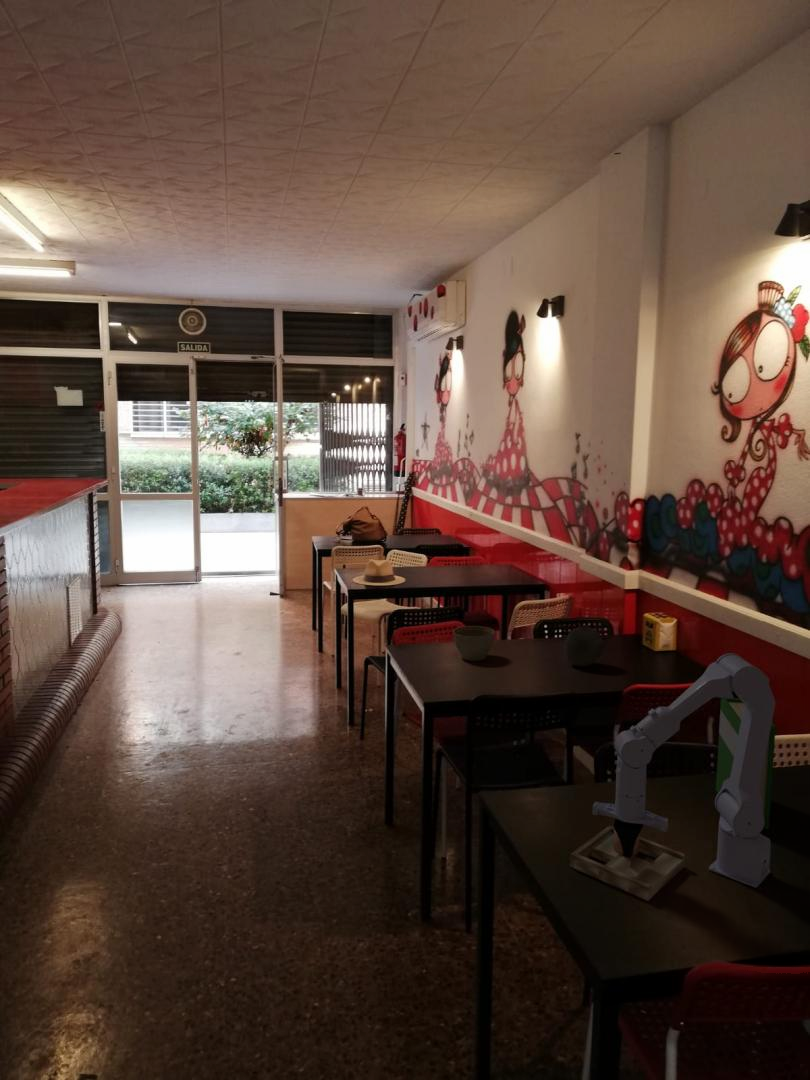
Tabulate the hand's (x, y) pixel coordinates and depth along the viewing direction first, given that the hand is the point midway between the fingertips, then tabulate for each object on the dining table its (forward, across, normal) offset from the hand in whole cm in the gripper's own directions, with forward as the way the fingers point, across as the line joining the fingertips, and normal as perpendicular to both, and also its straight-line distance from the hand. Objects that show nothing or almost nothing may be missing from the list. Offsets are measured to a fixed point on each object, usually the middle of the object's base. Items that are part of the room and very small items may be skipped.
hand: (628, 854), depth 156 cm
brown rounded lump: (+1, +1, -4) cm, 5 cm away
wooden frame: (+3, 0, -1) cm, 4 cm away
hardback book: (+4, -17, -39) cm, 43 cm away
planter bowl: (+4, +90, -121) cm, 150 cm away
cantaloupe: (+4, +49, -131) cm, 140 cm away
